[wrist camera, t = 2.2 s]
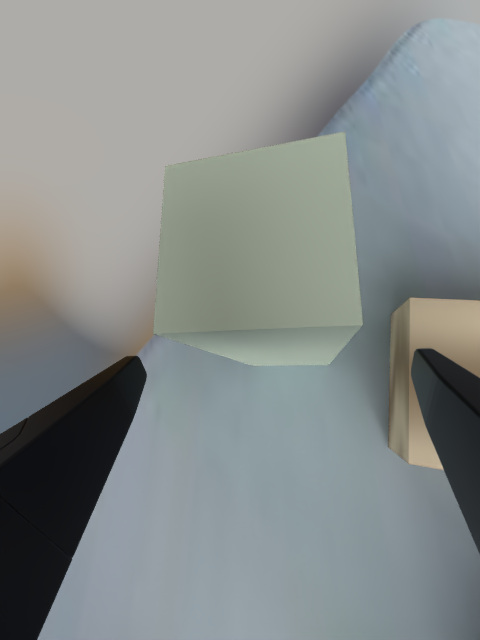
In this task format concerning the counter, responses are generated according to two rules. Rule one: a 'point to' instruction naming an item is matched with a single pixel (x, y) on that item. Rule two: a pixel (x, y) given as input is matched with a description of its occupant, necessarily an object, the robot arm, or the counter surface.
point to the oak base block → (406, 336)
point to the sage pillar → (261, 254)
